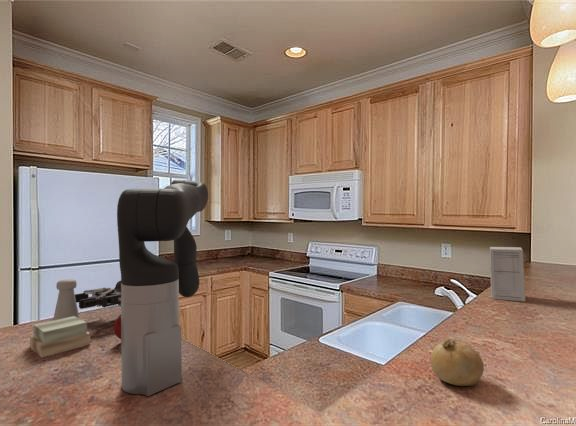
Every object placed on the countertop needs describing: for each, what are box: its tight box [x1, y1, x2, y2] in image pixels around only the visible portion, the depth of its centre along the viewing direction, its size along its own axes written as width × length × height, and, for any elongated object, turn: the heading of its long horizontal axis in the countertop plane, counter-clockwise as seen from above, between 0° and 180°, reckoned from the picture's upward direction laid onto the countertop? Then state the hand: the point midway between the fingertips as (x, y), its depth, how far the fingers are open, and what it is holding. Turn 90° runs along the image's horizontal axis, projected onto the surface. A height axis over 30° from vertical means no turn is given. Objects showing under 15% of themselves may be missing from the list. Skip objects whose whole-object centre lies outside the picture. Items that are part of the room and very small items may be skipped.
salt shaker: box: [52, 278, 81, 321], centre depth 84 cm, size 6×6×13 cm
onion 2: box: [429, 337, 485, 387], centre depth 55 cm, size 8×8×7 cm
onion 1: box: [113, 313, 121, 340], centre depth 75 cm, size 6×6×8 cm
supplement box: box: [489, 246, 526, 303], centre depth 111 cm, size 10×9×17 cm
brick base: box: [29, 316, 91, 359], centre depth 73 cm, size 9×9×5 cm
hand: (73, 302), depth 85 cm, fingers open, 8 cm apart
